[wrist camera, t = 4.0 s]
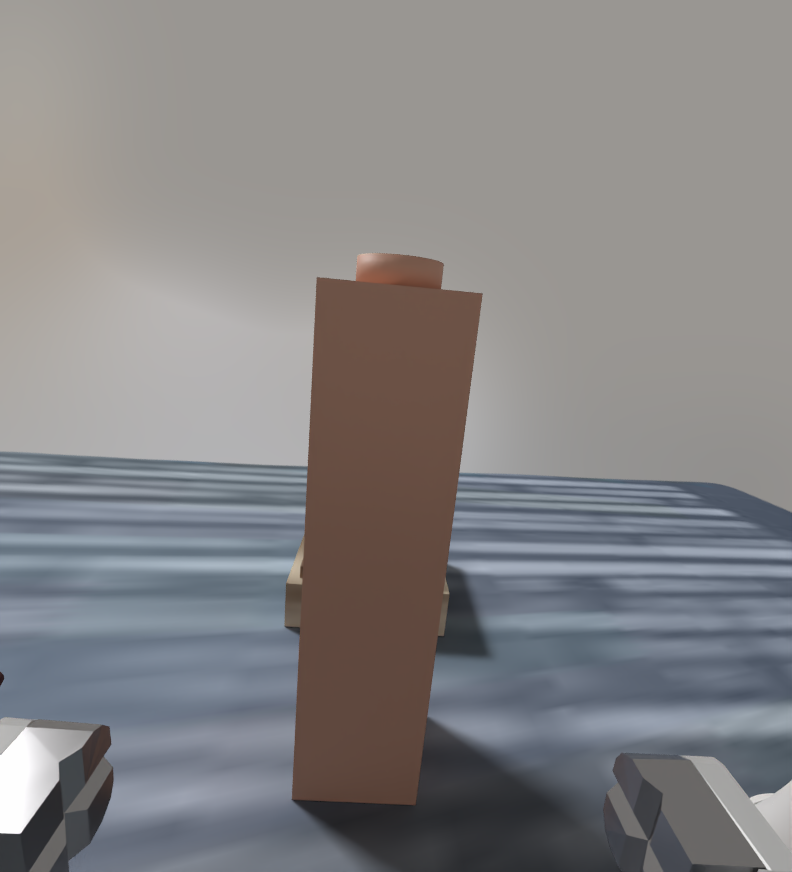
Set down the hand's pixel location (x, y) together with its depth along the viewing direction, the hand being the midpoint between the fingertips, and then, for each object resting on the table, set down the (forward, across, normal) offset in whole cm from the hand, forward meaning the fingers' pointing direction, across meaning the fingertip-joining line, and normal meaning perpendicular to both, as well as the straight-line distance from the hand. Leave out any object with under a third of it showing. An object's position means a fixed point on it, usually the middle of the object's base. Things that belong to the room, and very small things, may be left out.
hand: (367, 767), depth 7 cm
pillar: (+11, 0, +12) cm, 16 cm away
